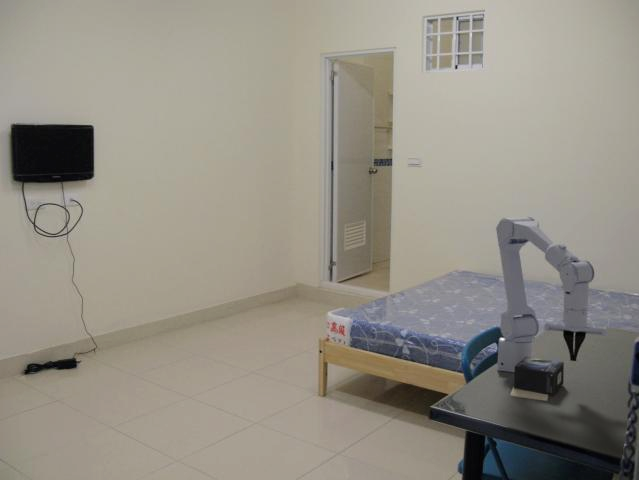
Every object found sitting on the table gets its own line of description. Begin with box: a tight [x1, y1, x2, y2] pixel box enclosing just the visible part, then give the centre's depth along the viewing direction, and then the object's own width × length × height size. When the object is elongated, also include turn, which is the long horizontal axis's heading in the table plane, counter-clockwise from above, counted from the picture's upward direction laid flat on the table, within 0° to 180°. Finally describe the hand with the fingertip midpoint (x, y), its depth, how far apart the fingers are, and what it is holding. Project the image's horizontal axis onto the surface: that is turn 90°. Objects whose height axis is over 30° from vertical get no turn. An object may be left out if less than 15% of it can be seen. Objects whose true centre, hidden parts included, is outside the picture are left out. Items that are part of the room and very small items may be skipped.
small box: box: [513, 357, 565, 396], centre depth 171 cm, size 11×6×10 cm
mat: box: [509, 386, 549, 402], centre depth 170 cm, size 9×14×1 cm, turn 157°
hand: (573, 359), depth 166 cm, fingers closed
